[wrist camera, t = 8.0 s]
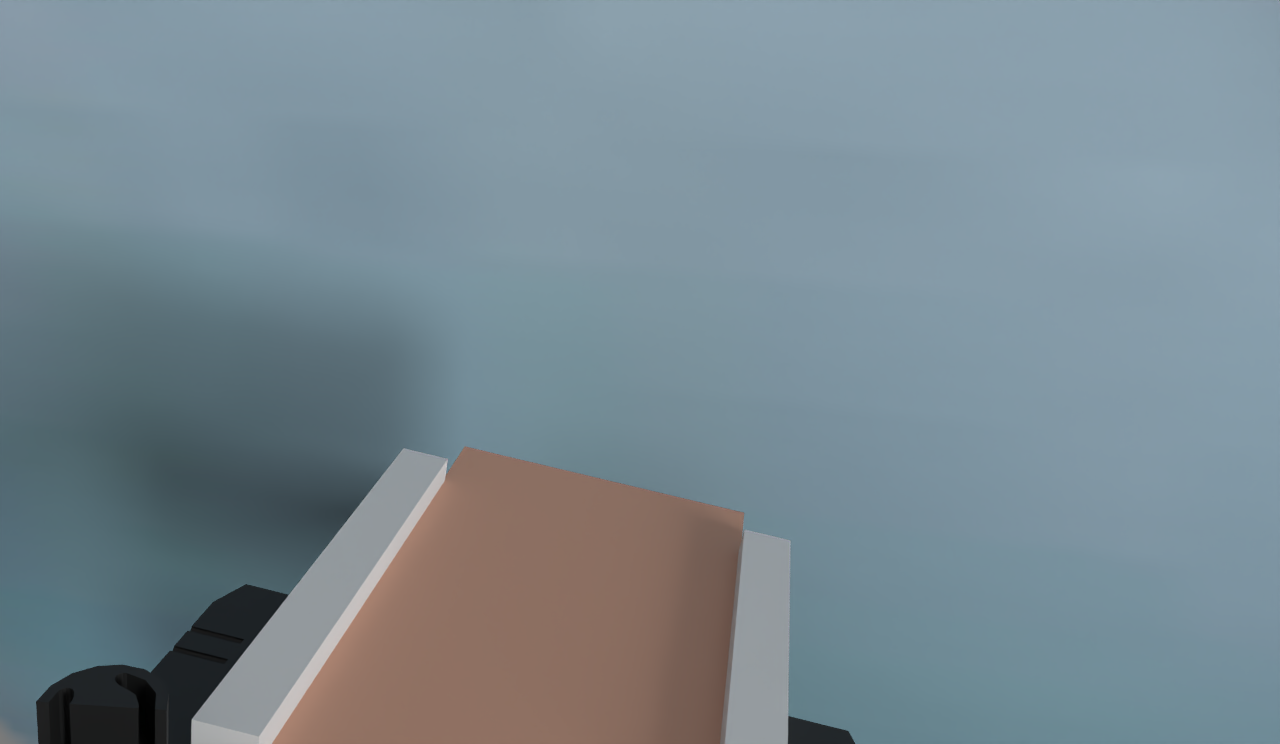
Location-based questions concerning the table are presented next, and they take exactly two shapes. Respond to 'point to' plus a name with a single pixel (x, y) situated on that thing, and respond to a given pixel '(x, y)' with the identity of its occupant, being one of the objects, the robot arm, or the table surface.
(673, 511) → the tile
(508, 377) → the table surface
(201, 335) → the table surface
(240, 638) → the robot arm
